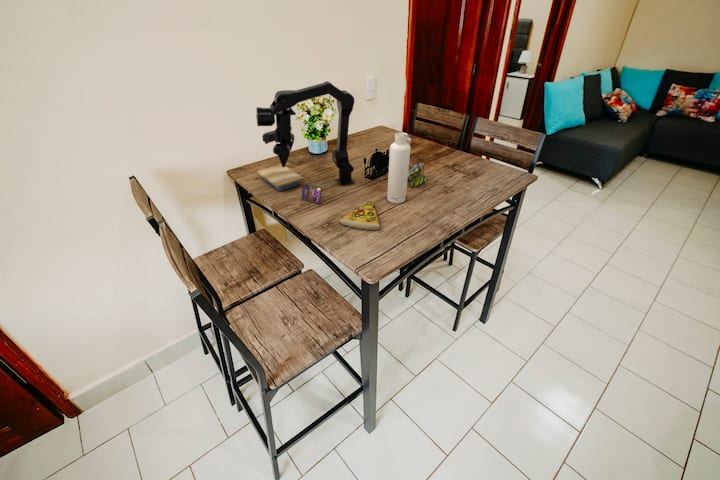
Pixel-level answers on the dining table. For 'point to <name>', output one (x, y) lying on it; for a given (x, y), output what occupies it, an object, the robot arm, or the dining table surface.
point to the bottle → (398, 169)
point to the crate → (283, 186)
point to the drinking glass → (408, 140)
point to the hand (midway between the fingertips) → (285, 162)
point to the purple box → (314, 194)
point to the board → (279, 175)
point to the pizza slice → (362, 218)
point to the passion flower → (418, 177)
